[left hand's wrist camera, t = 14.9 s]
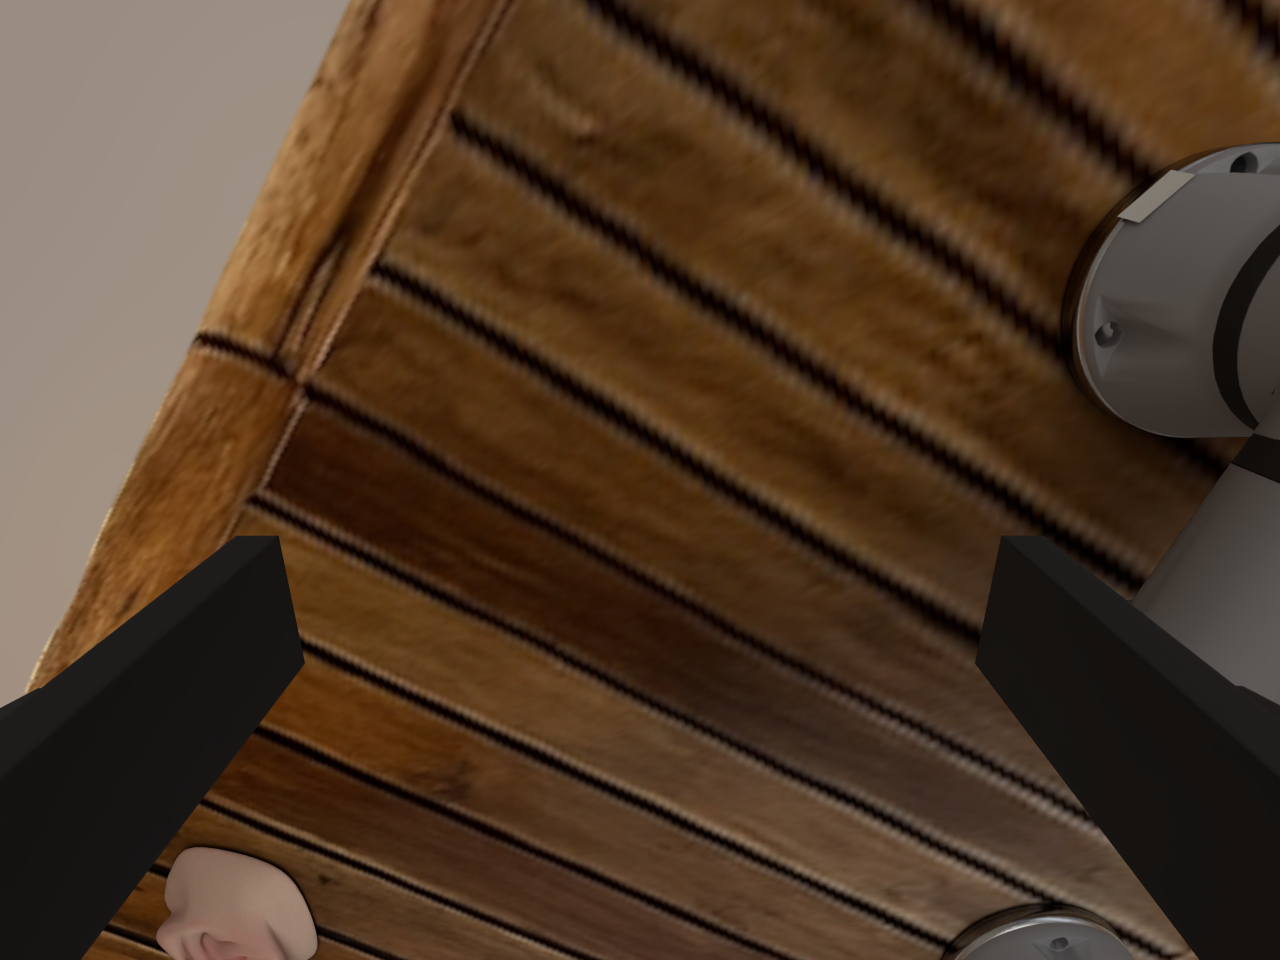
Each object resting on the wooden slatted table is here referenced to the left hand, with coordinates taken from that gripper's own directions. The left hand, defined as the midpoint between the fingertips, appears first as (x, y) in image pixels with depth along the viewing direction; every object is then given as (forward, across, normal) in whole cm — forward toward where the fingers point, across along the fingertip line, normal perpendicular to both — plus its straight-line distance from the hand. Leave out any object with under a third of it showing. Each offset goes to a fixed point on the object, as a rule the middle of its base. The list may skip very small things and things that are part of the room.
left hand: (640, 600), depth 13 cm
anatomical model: (+28, -32, -45) cm, 62 cm away
